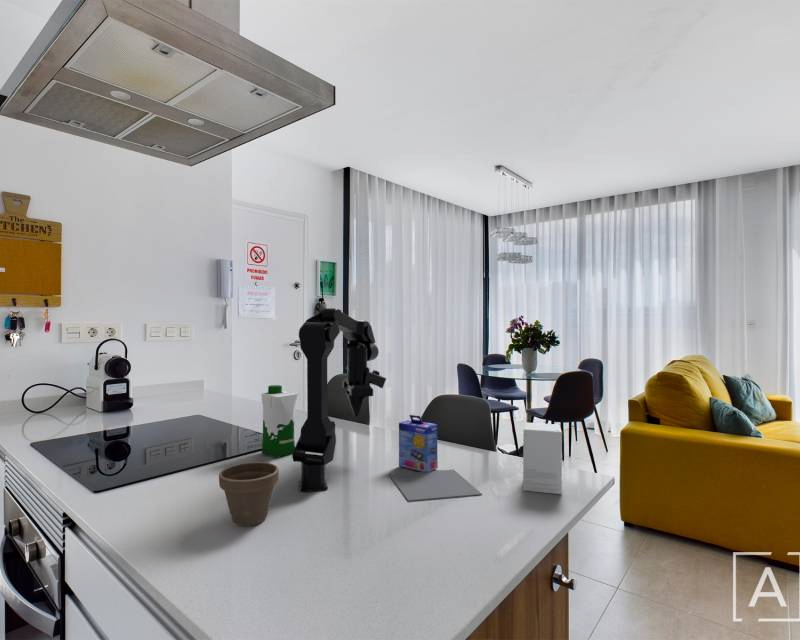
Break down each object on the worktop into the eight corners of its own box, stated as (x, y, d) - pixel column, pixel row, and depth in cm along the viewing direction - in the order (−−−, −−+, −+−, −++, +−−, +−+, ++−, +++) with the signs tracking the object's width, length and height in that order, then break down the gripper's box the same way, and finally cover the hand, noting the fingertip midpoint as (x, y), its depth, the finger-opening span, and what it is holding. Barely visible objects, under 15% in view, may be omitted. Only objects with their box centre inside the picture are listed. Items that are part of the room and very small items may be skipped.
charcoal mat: (481, 495, 109) (481, 493, 109) (408, 501, 104) (408, 500, 104) (453, 470, 126) (453, 469, 126) (389, 475, 122) (389, 474, 122)
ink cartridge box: (397, 466, 129) (397, 413, 129) (409, 462, 133) (409, 411, 134) (426, 473, 123) (427, 418, 123) (438, 468, 127) (438, 415, 128)
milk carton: (280, 447, 146) (281, 383, 146) (300, 452, 141) (301, 386, 141) (257, 453, 139) (258, 386, 139) (276, 459, 134) (277, 390, 134)
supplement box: (559, 482, 119) (560, 423, 118) (562, 495, 110) (563, 431, 110) (522, 478, 121) (523, 421, 121) (522, 490, 112) (523, 428, 112)
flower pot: (215, 536, 87) (216, 482, 87) (220, 511, 98) (221, 463, 98) (279, 529, 90) (279, 477, 90) (277, 506, 101) (278, 459, 101)
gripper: (391, 366, 131) (390, 421, 131) (377, 360, 149) (376, 409, 149) (352, 366, 128) (351, 423, 128) (342, 360, 146) (341, 410, 146)
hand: (356, 416), depth 138 cm, fingers closed
